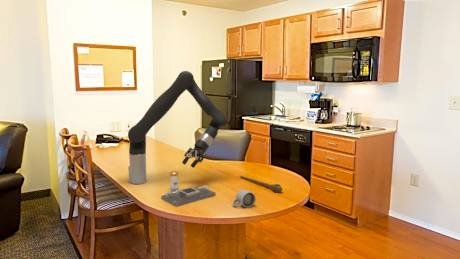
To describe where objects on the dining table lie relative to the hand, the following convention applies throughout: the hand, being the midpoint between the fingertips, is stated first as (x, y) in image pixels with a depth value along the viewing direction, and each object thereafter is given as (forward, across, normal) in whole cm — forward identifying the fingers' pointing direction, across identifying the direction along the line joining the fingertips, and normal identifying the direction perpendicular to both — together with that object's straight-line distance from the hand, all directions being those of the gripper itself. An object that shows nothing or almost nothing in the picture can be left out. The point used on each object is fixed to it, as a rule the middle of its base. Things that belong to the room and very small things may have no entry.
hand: (187, 165), depth 188 cm
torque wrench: (-15, +24, +33) cm, 43 cm away
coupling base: (+15, +14, +2) cm, 21 cm away
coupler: (+15, 0, +3) cm, 15 cm away
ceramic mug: (+6, +40, +12) cm, 43 cm away
